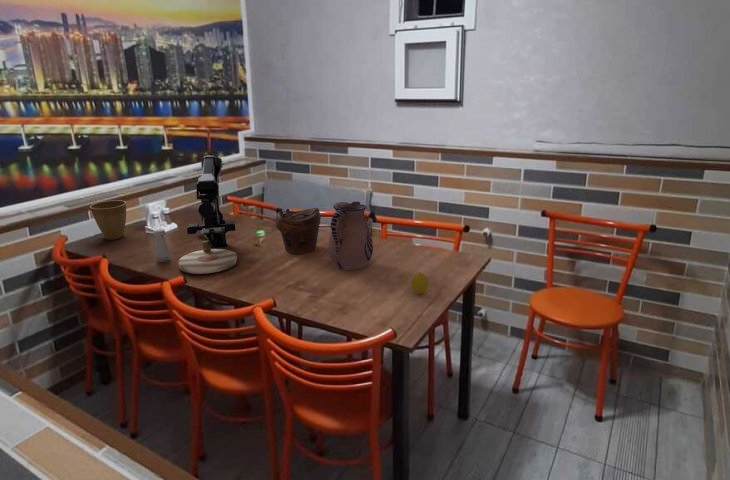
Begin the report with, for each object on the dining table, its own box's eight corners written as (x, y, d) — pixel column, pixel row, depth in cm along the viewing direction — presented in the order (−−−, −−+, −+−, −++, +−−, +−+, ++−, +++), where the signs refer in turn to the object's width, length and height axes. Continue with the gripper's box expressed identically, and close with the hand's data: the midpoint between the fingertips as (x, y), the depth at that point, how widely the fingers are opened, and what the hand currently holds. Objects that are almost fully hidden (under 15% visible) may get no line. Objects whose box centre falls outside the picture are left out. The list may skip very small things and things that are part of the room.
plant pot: (109, 231, 241) (103, 199, 236) (137, 233, 239) (132, 200, 234) (88, 241, 227) (82, 207, 222) (119, 243, 225) (113, 208, 220)
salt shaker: (165, 263, 201) (161, 232, 197) (152, 262, 202) (148, 231, 198) (173, 258, 207) (169, 228, 202) (161, 257, 208) (156, 227, 203)
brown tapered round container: (268, 250, 215) (265, 209, 209) (303, 239, 228) (302, 201, 223) (294, 260, 203) (293, 218, 197) (330, 248, 217) (330, 209, 211)
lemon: (410, 291, 174) (410, 270, 171) (425, 290, 174) (426, 269, 172) (412, 298, 169) (413, 276, 166) (428, 297, 169) (429, 275, 166)
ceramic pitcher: (378, 261, 202) (378, 200, 194) (361, 281, 183) (360, 215, 175) (338, 256, 207) (337, 197, 199) (317, 275, 188) (314, 211, 180)
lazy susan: (179, 257, 205) (177, 243, 203) (234, 250, 211) (233, 237, 209) (178, 276, 185) (176, 261, 183) (239, 269, 191) (238, 254, 189)
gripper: (235, 204, 209) (238, 239, 214) (188, 207, 206) (193, 242, 211) (233, 211, 199) (237, 247, 204) (184, 214, 196) (189, 251, 201)
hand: (214, 247), depth 205 cm, fingers closed
